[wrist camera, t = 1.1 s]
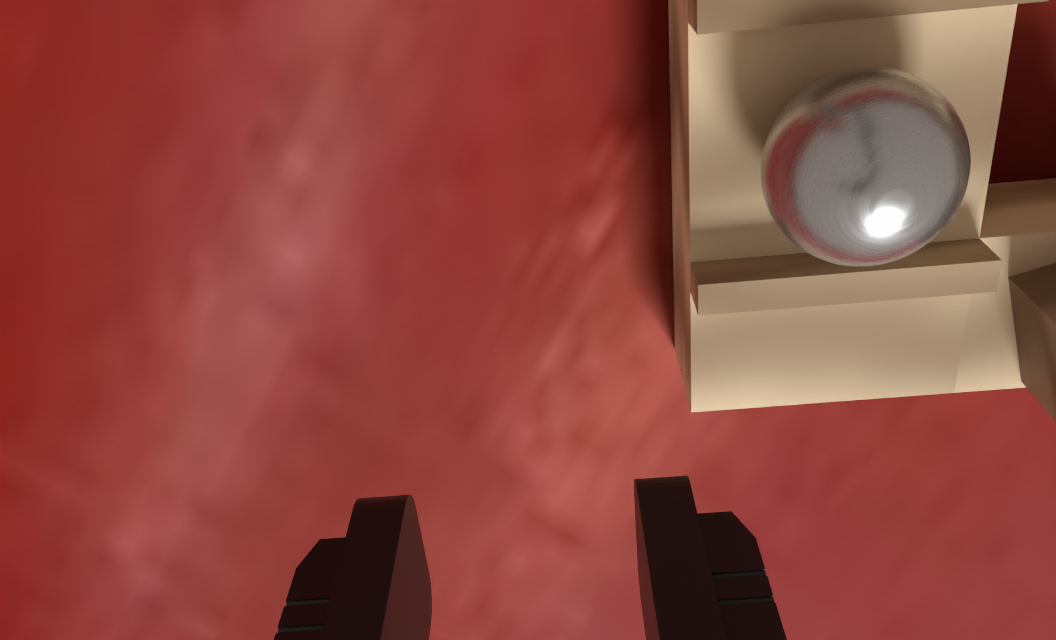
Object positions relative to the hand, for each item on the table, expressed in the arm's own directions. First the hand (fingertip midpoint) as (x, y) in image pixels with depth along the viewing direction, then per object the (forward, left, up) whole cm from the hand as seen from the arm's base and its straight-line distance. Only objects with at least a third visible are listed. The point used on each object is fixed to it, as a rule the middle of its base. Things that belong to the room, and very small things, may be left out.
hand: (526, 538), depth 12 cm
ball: (0, +8, -13) cm, 15 cm away
